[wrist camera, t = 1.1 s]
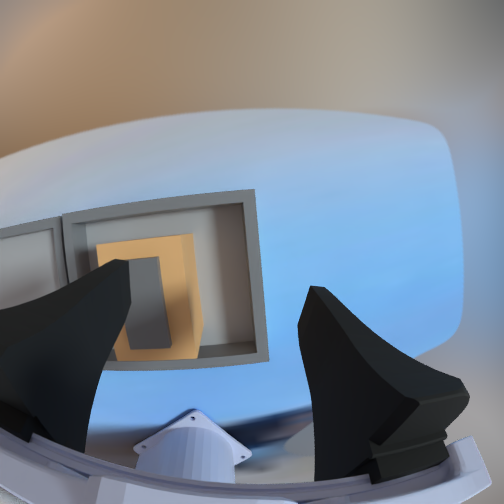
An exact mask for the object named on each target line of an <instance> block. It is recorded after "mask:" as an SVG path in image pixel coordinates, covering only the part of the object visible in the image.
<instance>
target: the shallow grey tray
mask: <svg viewBox="0 0 504 504" xmlns="http://www.w3.org/2000/svg"><path fill="white" fill-rule="evenodd" d="M69 283H70V282H69V276H68V269H67V261H66V253H65V244H64V233H63V219H62V216H58V217H53V218H48V219H43V220H38V221H33V222H29V223H24V224H20V225H15V226H11V227H6V228H2V229H0V310H1V309H5V308H9V307H13V306H17V305H20V304H23V303H26V302H29V301H32V300H35V299H37V298H40V297H42V296H45V295H47V294H49V293H52V292H54V291H56V290H58V289H60V288H62V287H64V286H66V285H68V284H69Z"/></svg>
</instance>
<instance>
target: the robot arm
mask: <svg viewBox="0 0 504 504" xmlns="http://www.w3.org/2000/svg"><path fill="white" fill-rule="evenodd" d="M131 303H132V302H131V289H130V274H129V261H127V260H120V259H113V260H111V261H109V262H107V263H105V264H103V265H102V266H100V267H98V268H96V269H95V270H93V271H91V272H89V273H88V274H86V275H84V276H82V277H81V278H79V279H77V280H75V281H73V282H71V283H69V284H68V285H66V286H64V287H62V288H60V289H58V290H56V291H54V292H52V293H49V294H47V295H45V296H42V297H40V298H37V299H35V300H32V301H29V302H26V303H23V304H20V305H17V306H13V307H9V308H5V309H1V310H0V487H1V488H3V489H4V490H6V491H8V492H9V493H11V494H12V495H14V496H16V497H17V498H19V499H21V500H23V501H24V502H26V503H28V504H460V503H462V502H464V501H465V500H467V499H469V498H471V497H472V496H474V495H476V494H477V493H479V492H481V491H482V490H484V489H485V488H487V487H488V486H490V485H491V483H492V482H491V479H490V476H489V474H488V471H487V469H486V466H485V464H484V461H483V459H482V457H481V454H480V452H479V450H478V448H477V446H476V443H475V442H474V439H473V437H472V436H468V437H465V438H463V439H460V440H458V441H455V442H453V443H451V444H449V445H448V446H445V444H444V441H443V440H445V439H446V438H447V434H446V431H445V429H446V428H447V427H448V426H449V425H450V424H451V423H452V422H453V421H454V420H455V419H456V418H457V417H458V416H459V415H460V414H461V413H462V411H463V410H464V409H465V408H466V406H467V404H468V402H469V398H470V396H469V393H468V391H467V390H466V388H465V386H464V384H463V383H462V381H461V380H460V379H459V378H456V377H453V376H450V375H448V374H445V373H442V372H440V371H437V370H435V369H433V368H431V367H429V366H427V365H424V364H422V363H420V362H418V361H416V360H415V359H413V358H411V357H409V356H408V355H406V354H404V353H403V352H401V351H399V350H398V349H396V348H395V347H393V346H392V345H390V344H389V343H388V342H386V341H385V340H383V339H382V338H381V337H379V336H378V335H377V334H376V333H374V332H373V331H372V330H371V329H370V328H368V327H367V326H366V325H365V324H364V323H363V322H361V321H360V320H359V319H358V318H357V317H356V316H355V315H354V314H353V313H352V312H351V311H350V310H349V309H348V308H346V307H345V306H344V305H343V304H342V303H341V302H340V301H339V300H338V299H337V298H336V297H335V296H334V295H333V294H332V293H331V292H330V291H329V290H327V289H326V288H325V287H319V286H310V288H309V291H308V294H307V297H306V301H305V304H304V307H303V310H302V313H301V316H300V319H299V322H298V338H299V347H300V351H301V355H302V360H303V364H304V368H305V372H306V377H307V381H308V385H309V389H310V395H311V401H312V411H313V423H314V437H315V438H314V439H315V475H314V482H304V483H288V484H237V483H235V473H234V465H236V464H238V463H240V462H242V461H244V460H246V459H247V458H249V457H251V456H252V453H251V451H250V450H249V449H247V448H246V447H245V446H243V445H242V444H241V443H239V442H238V441H237V440H235V439H234V438H233V437H231V436H230V435H229V434H228V433H226V432H225V431H224V430H223V429H221V428H220V427H219V426H218V425H216V424H215V423H214V422H213V421H212V420H210V419H209V418H208V417H207V416H206V415H204V414H203V413H202V412H201V411H199V410H193V411H192V412H190V413H189V414H187V415H185V416H184V417H182V418H181V419H179V420H177V421H176V422H174V423H172V424H171V425H169V426H168V427H166V428H164V429H163V430H161V431H159V432H157V433H156V434H154V435H152V436H151V437H149V438H147V439H145V440H144V441H142V442H140V443H138V444H136V445H135V446H134V448H133V449H134V451H135V452H136V453H138V454H139V458H138V461H137V464H136V467H135V469H133V468H129V467H125V466H122V465H118V464H114V463H111V462H108V461H104V460H101V459H98V458H95V457H92V456H89V455H86V454H84V452H85V444H86V436H87V430H88V424H89V419H90V414H91V409H92V405H93V401H94V397H95V393H96V390H97V386H98V383H99V379H100V376H101V373H102V370H103V368H104V365H105V363H106V361H107V359H108V357H109V354H110V352H111V350H112V348H113V346H114V344H115V342H116V340H117V338H118V336H119V334H120V332H121V330H122V328H123V326H124V323H125V321H126V318H127V315H128V312H129V309H130V306H131ZM191 417H195V418H191ZM143 445H144V446H143ZM145 446H146V447H145Z"/></svg>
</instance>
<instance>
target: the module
mask: <svg viewBox="0 0 504 504" xmlns="http://www.w3.org/2000/svg"><path fill="white" fill-rule="evenodd" d="M96 248H97V256H98V264H99V267H100V266H102V265H103V264H105V263H107V262H109V261H111V260H113V259H120V260H127V261H129V274H130V289H131V302H132V303H131V306H130V309H129V312H128V315H127V318H126V321H125V323H124V326H123V328H122V330H121V332H120V334H119V336H118V338H117V340H116V342H115V344H114V350H115V354H116V357H117V361H156V360H179V359H196V358H197V357H198V352H199V347H200V342H201V337H202V331H203V326H204V323H203V316H202V309H201V301H200V293H199V285H198V277H197V268H196V259H195V250H194V240H193V233H190V234H180V235H171V236H162V237H153V238H144V239H135V240H127V241H119V242H112V243H105V244H98V245H96Z"/></svg>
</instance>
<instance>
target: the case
mask: <svg viewBox="0 0 504 504" xmlns="http://www.w3.org/2000/svg"><path fill="white" fill-rule="evenodd" d="M62 219H63V233H64V244H65V253H66V261H67V269H68V276H69V282H70V283H71V282H73V281H75V280H77V279H79V278H81V277H82V276H84V275H86V274H88V273H89V272H91V271H93V270H95V269H96V268H98V267H99V264H98V256H97V248H96V245H98V244H105V243H112V242H119V241H127V240H135V239H144V238H153V237H162V236H171V235H180V234H190V233H193V240H194V250H195V259H196V268H197V277H198V285H199V293H200V301H201V309H202V316H203V323H204V326H203V331H202V337H201V342H200V347H199V352H198V357H197V358H196V359H179V360H156V361H117V357H116V354H115V350H114V346H113V348H112V350H111V352H110V354H109V357H108V359H107V361H106V363H105V365H104V368H103V370H114V371H152V370H181V369H198V368H212V367H224V366H234V365H243V364H252V363H260V362H268V361H269V352H268V339H267V327H266V315H265V303H264V291H263V279H262V268H261V256H260V245H259V234H258V222H257V211H256V200H255V189H249V190H237V191H225V192H215V193H205V194H195V195H186V196H177V197H169V198H161V199H153V200H146V201H139V202H132V203H125V204H118V205H112V206H106V207H99V208H93V209H88V210H82V211H76V212H71V213H66V214H62Z"/></svg>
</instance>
